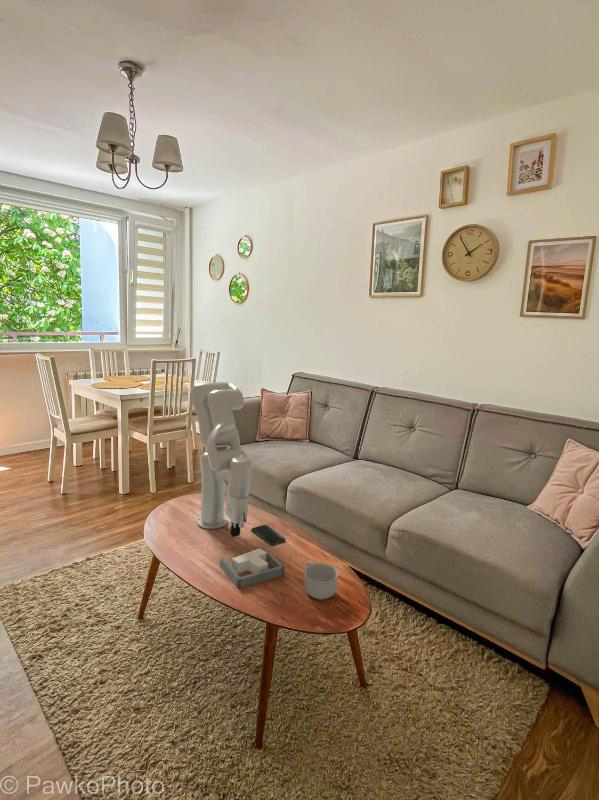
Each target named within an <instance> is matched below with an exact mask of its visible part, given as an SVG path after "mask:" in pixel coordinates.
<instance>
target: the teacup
mask: <svg viewBox="0 0 599 800" xmlns="http://www.w3.org/2000/svg"><path fill="white" fill-rule="evenodd" d="M338 577H339V572H338V569H337V568H336V567H334V565H331V564H329V563H324V562H318V563H317V562H315V563H314V561H313V560H308V561H307V562H306V567H305V569H304V588H305V592H306V593H307V595H309V596H310V597H312V598H314V599H316V600H320V601H321V600H322V601H323V600H327V599H328V598H331V597H333V596H334V595H335V594H336V592H337V588H338Z"/></svg>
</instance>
